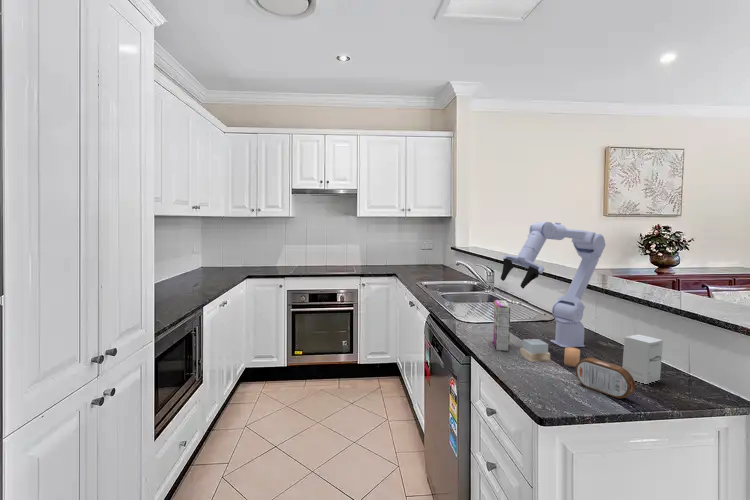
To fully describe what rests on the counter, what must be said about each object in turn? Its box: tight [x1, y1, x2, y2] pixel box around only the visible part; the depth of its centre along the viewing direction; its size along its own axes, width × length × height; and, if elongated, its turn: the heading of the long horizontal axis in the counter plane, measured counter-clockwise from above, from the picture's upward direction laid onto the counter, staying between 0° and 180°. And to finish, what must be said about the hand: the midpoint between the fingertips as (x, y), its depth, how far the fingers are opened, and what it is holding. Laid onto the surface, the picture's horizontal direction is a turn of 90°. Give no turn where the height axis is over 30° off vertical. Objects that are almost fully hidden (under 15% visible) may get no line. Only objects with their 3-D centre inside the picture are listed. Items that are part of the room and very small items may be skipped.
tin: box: [575, 357, 636, 399], centre depth 110 cm, size 15×3×8 cm, turn 33°
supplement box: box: [621, 333, 664, 385], centre depth 120 cm, size 7×7×13 cm
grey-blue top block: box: [521, 338, 549, 353], centre depth 138 cm, size 6×6×3 cm
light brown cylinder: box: [563, 347, 581, 368], centre depth 132 cm, size 4×4×5 cm
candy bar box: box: [492, 299, 511, 352], centre depth 149 cm, size 11×5×16 cm, turn 168°
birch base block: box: [519, 347, 551, 363], centre depth 138 cm, size 7×7×3 cm
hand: (511, 283), depth 140 cm, fingers open, 7 cm apart
